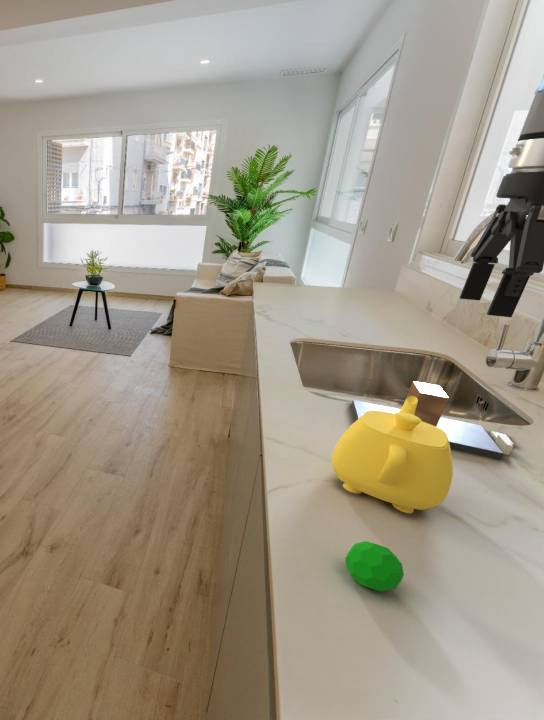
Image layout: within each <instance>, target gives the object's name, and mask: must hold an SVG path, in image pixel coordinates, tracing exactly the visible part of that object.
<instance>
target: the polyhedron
mask: <svg viewBox="0 0 544 720" xmlns="http://www.w3.org/2000/svg"><path fill="white" fill-rule="evenodd" d="M344 560H345V566H346V569H347V571H348V572H349V574H350V576H351V577H352V578H353V580H355V582H357V583H358V584H359V585H361V586H364V587H367V588H368V589H372V590H374V591H377V592H387V591H392V590H394V589H396V588H397V587H398V586H399V585H400V583H401V582H402V581H403V578H404V575H405V574H404V567H403V563H402V562H401V560H400V559H399V558H398V556H396V554H395V553H394V552H393V551H392V550H391V549H390V548H389V547H387V546H383V545H380V544H377V543H374V542H370V541H367V540H365V541H360V542H357V543H354V545H353V546H352V547H351V548H350V549H349V551H348V552H347V554H346V556H345V558H344Z"/></svg>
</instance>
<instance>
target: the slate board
mask: <svg viewBox="0 0 544 720" xmlns="http://www.w3.org/2000/svg"><path fill="white" fill-rule="evenodd" d="M350 406H351V410H352V414H353V418H354V422H355V421H357V420H358V419H359V418H360V417H361V416H362V415H364V414H365V413H366V412H368V411H372V410H374V411H383V412H388V413H393V414H395V413H397V412H399V411H400V410H401V408H398V407H397V408H396V407H392V406H386V405H382V404H377V403H372V402H367V401H362V400H357V399H352V401H351V404H350ZM437 427H438V428H440V429H442V430H443V431H444V432H445V433H446V434H447V436H448V440H449V444H450V449H451V450H454V451H459V452H463V453H468V454H472V455H476V456H481V457H485V458H490V459H494V460H498V461H502V458H503V457H504V455H505V454H504V453H503V452H502V451H501V450H500V448H499V447H498V446H497V445H496V444H495V441H494V439H492V436H491V435H489V434H488V432H487V431H486V430H485V429H484V427H483V426H482V425H480V424H476V423H471V422H467V421H462V420H456V419H451V418H446V417H442V416H441V417H440V420H439V422H438V424H437Z"/></svg>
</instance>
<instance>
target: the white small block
mask: <svg viewBox="0 0 544 720" xmlns="http://www.w3.org/2000/svg"><path fill="white" fill-rule="evenodd" d="M494 440H495V439H494ZM494 442H495V444H496V445H497V446H498V447H499V448H500V450H501V451H502V452H503V453H504V454H503V455H507V456H509V455H510V453H511V452H512V450H513V449H514V445H512V444H511V443H510V442H509V441H508V440H507V438H506V437H505V436H503V435H498V436H497V438H496V440H495V441H494Z"/></svg>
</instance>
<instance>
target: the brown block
mask: <svg viewBox="0 0 544 720" xmlns="http://www.w3.org/2000/svg"><path fill="white" fill-rule="evenodd" d="M409 396H415V397H416V398H417V399H418V403H417V406H416V410H415V416H417V417H418V418H420V419H421V421H422V422H425V423H428V424H431V425H433V426H436V427H437V424H438V422H439V420H440V417H442V415H443V413H444V411H445V408H446V407H447V403H448V402H449V400H450V397H449V396H448V395H447V393H446V392H445V390H443V388H442V386H441V385H438V384H431V383H426V382H421V381H420V382H419V381H414V380H413V381H412V382H411V385H410V387H409V390H408V392H407V394H406V397H405V400H406V399H407V398H408V397H409Z"/></svg>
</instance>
